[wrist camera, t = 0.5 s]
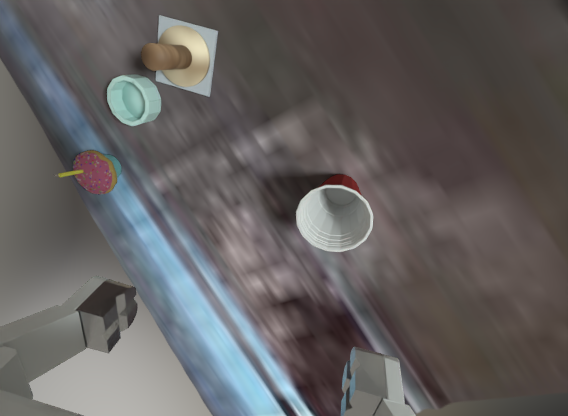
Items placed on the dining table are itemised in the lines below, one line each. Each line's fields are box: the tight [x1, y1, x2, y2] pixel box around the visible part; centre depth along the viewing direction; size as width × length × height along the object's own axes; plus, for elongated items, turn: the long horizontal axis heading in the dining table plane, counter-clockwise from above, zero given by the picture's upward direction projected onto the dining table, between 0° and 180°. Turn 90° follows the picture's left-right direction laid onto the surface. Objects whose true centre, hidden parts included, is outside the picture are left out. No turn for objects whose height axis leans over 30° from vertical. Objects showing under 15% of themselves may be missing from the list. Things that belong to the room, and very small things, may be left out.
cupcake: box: [54, 150, 121, 195], centre depth 62 cm, size 9×8×12 cm
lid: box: [141, 25, 210, 87], centre depth 50 cm, size 9×9×9 cm
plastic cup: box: [296, 174, 373, 252], centre depth 52 cm, size 11×11×12 cm
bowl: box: [107, 74, 161, 126], centre depth 58 cm, size 8×8×4 cm
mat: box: [156, 15, 218, 97], centre depth 55 cm, size 10×10×1 cm
